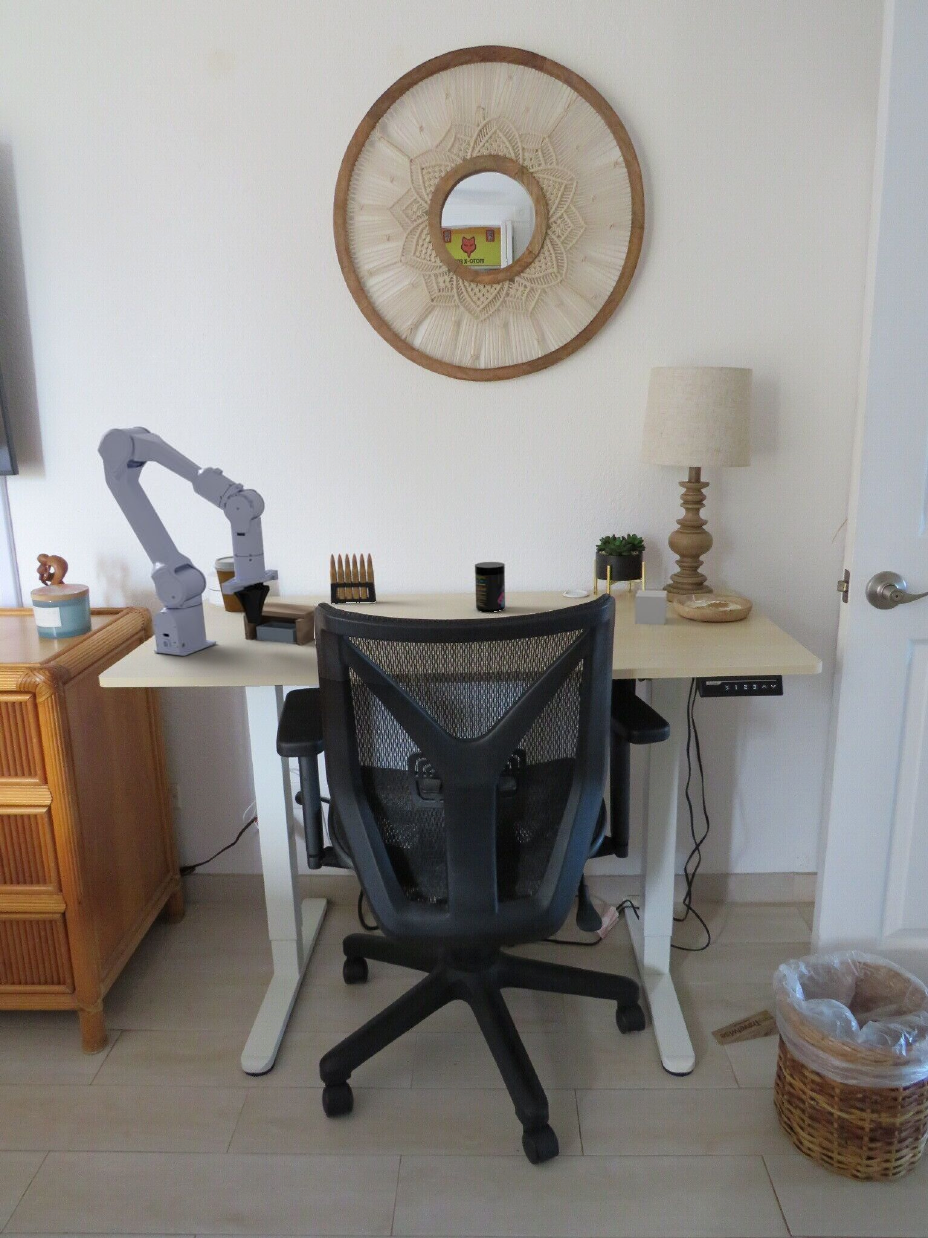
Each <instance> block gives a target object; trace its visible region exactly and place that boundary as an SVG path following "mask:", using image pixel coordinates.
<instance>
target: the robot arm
mask: <svg viewBox="0 0 928 1238" xmlns="http://www.w3.org/2000/svg"><path fill="white" fill-rule="evenodd" d="M97 452H98V454H99V456H100V457H101V459H102V461H103V462H102V463H103V470H104V479H105V482H106V486H107V488H108V489H109V491H110V493H111V494H112V496H113V498H114V500H115V501H116V503H117V504H118V506H119V508H120V509H121V512H122V513H123V515H124V517H125V519H126V520H127V522H128V524H129V525H130V527H131V529H132V531H133V532H134V534H135V535H136V538H137V539H138V541H139V543H140V544H141V546H142V549H144V551H145V553H146V555H147V557H148V558H149V560H150V561H151V563H152V569H151V574H150V577H151V579H152V582H153V584H154V588H155V595H156V596H157V599H158V600H159V602H161V604H163V608H162V609H161V610H160V611H158V612H157V613H156V614H155V615H154V617H153V629H154V637H155V644H156V646H155V647H156V648H154V649H153V652H154V653H159V654H165V655H166V654H167V655H175V656H182V657H183V656H184V657H185V656H188V655H190V654H193V653H196V652H198V651H200V650H203V649H206V648H208V647H211V646H213V645H216V644H217V641H216V640H211V639H207V633H206V624H205V623H206V622H205V614H204V613H205V612H204V605H203V595H202V594H203V593H204V592H205V590H206V589H207V578H206V576H205V573H204V572H203V571H202V570H200V569H199V568H197V566H195V565H194V563H193V561H192V560H191V559H190V558H189V557H188V556H187V555H185V554H183V553H181V552H180V551H179V550H178V548H177V546H176V544H175V542H174V541H173V538H172V536H171V535H170V534H169V532H168V530H167V529H166V526H165V525H164V523H163V521H162V519H161V518H160V516H159V515H158V513H157V511H156V509H155V507H154V506H153V504H152V503H151V501H150V499H149V497H148V495H147V494H146V492H145V490H144V489H143V487H142V485H141V483H140V481H139V480H140V476H141V473H142V470H143V468H144V467H145V465H146V464H147V463H148V462H155V463H157V464H159V465H160V466H162V467H164V468H166V469H167V470H169V471H171V472H172V473H174V474H176V475H178V476H180V477H181V478H183V479H184V480H186V481H188V482H190V483H191V485H192V488H193V492H194V493H195V494H197V495H198V496H200V497H201V498H203V499H204V500H206V501H207V502H210V503H211V504H212V505H214V506H215V507H216V508H219V509H220V510H222V511H223V513H224V516H225V518H226V519H227V520H228V521H229V523H230V532H231V543H232V544H231V545H232V554H233V555H232V556H233V558H234V569H235V577H234V578H232V579H231V580H229V581H227V582H225V583H222V584H221V585H222V593H221V595H222V594H233V593H234V594H235V596H236V597H237V599H238V600H239V602H240V603H241V605H242V607H243V610H244V611H243V612H244V615H246V618H247V621H248V623H252V624H257V623H260V622H261V617H262V611H263V606H264V603H266V602H265V601H266V599H267V597H268V594H269V592H270V590H271V588H270V585H269V584H265V583H268V582H272V581H278V580H279V573H278V570H277V569H266V563H265V550H264V538H263V527H262V517H261V516H262V515H263V513H264V511H265V509H266V507H265V506H266V505H265V501H264V498H263V496H262V495H261V494H260V493H259V492H258V491H257V490H256V489H253V488H244V487H245V486H244V484H242V483H240V482H238V483H237V482H236V481H233V480H232V479H230V478H229V477H227V476H226V475H224V474H223V472H224V470H222V469H221V468H219V467H215V468H213V466H209V467H207V466H206V467H204V468H202V467H201V466H199V465H198V464H196V463H195V462H194V461H192V460H191V459H190V458H189V457H187V456H185V455H184V454H183V453H181V452H180V451H179V450H177V449H176V448H174V447H173V446H172V445H171V444H169V443H168V442H167V441H165V440H164V439H163V438H162V437H161V436H160V435H158V434H157V433H154V432H151V430H149V429H148V428H146V427H144V426H134V427H127V428H120V427H119V428H118V427H114V428H113V427H112V428H109V429H107V430H106V431H104V433H103V434H102V436H101V439H100V441H99V445H98V448H97Z"/></svg>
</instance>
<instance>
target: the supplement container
mask: <svg viewBox="0 0 928 1238" xmlns="http://www.w3.org/2000/svg"><path fill="white" fill-rule="evenodd" d="M505 566H506V565H505V563H503V562H501V561H500V562H499V561H483V562H477V563H476V564H474V579H475V580H474V581H475V583H474V584H475V585H474V587H475V608H476V610H477V611H478V612H480V611H481V612H480V613H484V612H494V611H499V610H503V609H504V610H506V609H505V608H506V576H505V574H506V573H505V572H506V570H505V568H506V567H505ZM504 610H503V611H504Z"/></svg>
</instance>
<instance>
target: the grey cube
mask: <svg viewBox="0 0 928 1238" xmlns="http://www.w3.org/2000/svg"><path fill="white" fill-rule="evenodd" d="M634 601H635V602H634V603H635V605H634V609H635V612H634V624H639V625H659V626H664V625H665V624H666V621H667V611H668V609H667V606H668V590H657V589H656V590H650V589H649V590H648V589H638V590H637V593H636V594H635V600H634Z"/></svg>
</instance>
